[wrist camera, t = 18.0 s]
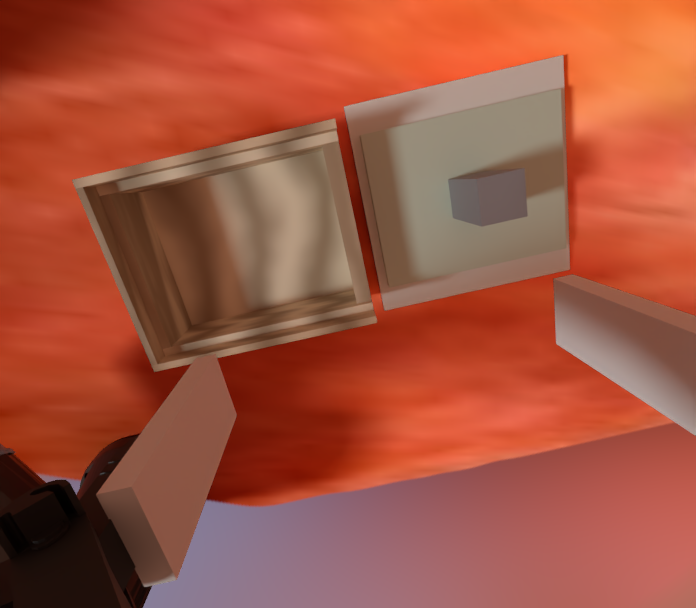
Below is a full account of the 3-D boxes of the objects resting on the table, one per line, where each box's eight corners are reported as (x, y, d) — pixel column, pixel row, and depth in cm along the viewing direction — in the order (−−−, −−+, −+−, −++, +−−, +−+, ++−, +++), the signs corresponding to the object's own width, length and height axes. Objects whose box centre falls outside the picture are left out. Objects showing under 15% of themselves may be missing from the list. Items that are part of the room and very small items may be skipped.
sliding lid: (387, 284, 43) (402, 310, 34) (359, 136, 38) (368, 123, 29) (560, 246, 43) (619, 262, 34) (554, 91, 38) (621, 63, 29)
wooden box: (187, 336, 45) (154, 372, 36) (127, 180, 39) (71, 179, 31) (368, 296, 44) (377, 322, 36) (333, 132, 39) (334, 118, 30)
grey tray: (567, 268, 44) (570, 269, 44) (384, 309, 45) (384, 310, 44) (559, 56, 37) (563, 55, 37) (343, 107, 38) (344, 106, 37)
